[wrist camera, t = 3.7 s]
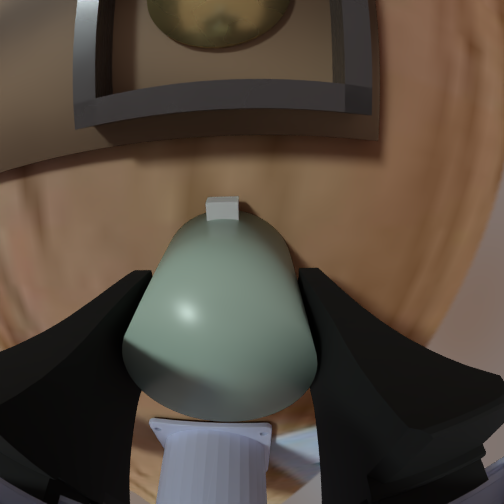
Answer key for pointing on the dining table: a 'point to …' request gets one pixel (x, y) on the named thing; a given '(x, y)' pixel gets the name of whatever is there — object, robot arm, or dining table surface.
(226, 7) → the dark grey square frame
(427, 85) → the dining table surface
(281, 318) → the pale green pear shape
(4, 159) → the board
